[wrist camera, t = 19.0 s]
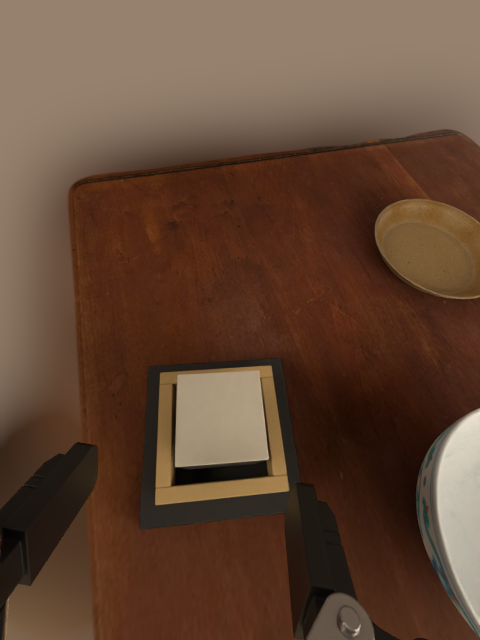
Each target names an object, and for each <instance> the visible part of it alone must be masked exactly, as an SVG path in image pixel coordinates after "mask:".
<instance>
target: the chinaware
mask: <svg viewBox="0 0 480 640" xmlns="http://www.w3.org/2000/svg"><path fill="white" fill-rule="evenodd" d="M416 509H417V517H418V523H419V528H420V532H421V536H422V539H423V543H424V546H425V548H426V551H427V554H428V556H429V559H430V561H431V564H432V566H433V568H434V570H435V572H436V574H437V576H438V578H439V580H440V582H441V583H442V585H443V587H444V589H445V590H446V592H447V594H448V595H449V597H450V599H451V600H452V602H453V603H454V605H455V606H456V608H457V609H458V611H459V612H460V613H461V615H462V616H463V618H464V619H465V620H466V622H467V623H468V624H469V626H470V627H471V628H472V629H473V631H474V632H475V633H476V634H477V636H478V637H479V638H480V408H479V409H476V410H474V411H472V412H470V413H468V414H467V415H465V416H463V417H462V418H460V419H458V420H457V421H456V422H454V423H453V424H452V425H450V426H449V427H448V428H447V429H446V430H445V431H443V432H442V433H441V435H440V436H439V437H438V438H437V439H436V440H435V441H434V443H433V444H432V446H431V447H430V449H429V450H428V452H427V454H426V456H425V458H424V460H423V463H422V465H421V468H420V472H419V476H418V481H417V488H416Z"/></svg>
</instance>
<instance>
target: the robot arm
mask: <svg viewBox="0 0 480 640" xmlns="http://www.w3.org/2000/svg"><path fill="white" fill-rule="evenodd" d="M97 468H98V448H97V446H96V445H91V444H86V443H80V442H77V443H76V444H74V445H73V446H72V448H71V449H70V450H69V451H68V452H67V453H66V454H65V455H63V454H58V455H56V456H54V457H53V458H51V459H50V460H48V461H46V462H45V463H44V464H43V465H42V466H41V467H40V468H39V469H38V470H37V471H36V472H35V473H34V475H33V477H31V478H30V479H29V480H28V481H27V482H26V483H25V485H24V486H22V487H21V488H20V489H19V490H18V492H17V493H16V494H15V495H14V496H13V497H12V498H11V499H10V500H9V501H8V502H7V503H6V504H5V505H4V507H2V508H1V510H0V640H6V637H7V621H8V604H9V596H10V594H11V593H12V592H13V590H14V589H15V587H16V586H17V584H23V585H28V586H31V584H32V583H33V581H34V580H35V578H36V577H37V575H38V574H39V572H40V570H41V569H42V567H43V566H44V564H45V563H46V561H47V560H48V558H49V557H50V555H51V554H52V552H53V550H54V549H55V547H56V546H57V544H58V543H59V541H60V540H61V538H62V537H63V535H64V533H65V532H66V531H67V529H68V528H69V526H70V524H71V523H72V521H73V520H74V518H75V517H76V515H77V514H78V512H79V511H80V509H81V507H82V506H83V504H84V503H85V501H86V500H87V498H88V497H89V495H90V494H91V492H92V490H93V488H94V486H95V483H96V480H97ZM338 531H339V530H338V526H337V523H336V519H335V515H334V514H333V512H332V511H331V509H330V508H329V506H328V505H327V503H326V502H321V501H317V498H316V493H315V488H314V486H313V485H312V484H306V483H300V482H294V483H293V485H292V489H291V493H290V497H289V500H288V504H287V508H286V513H285V537H286V549H287V561H288V573H289V585H290V597H291V610H292V622H293V634H294V637H295V638H301V639H304V640H399V639H397V638H396V637H394V636H392V635H390V634H389V633H387V632H385V631H384V630H382V629H381V628H379V627H378V626H377V625H376V624H374V623H373V622H372V621H371V619H370V617H369V616H368V614H367V612H366V611H365V609H364V608H363V607H362V605H361V604H360V603H359V602H358V600H357V597H356V594H355V591H354V587H353V583H352V579H351V576H350V572H349V568H348V564H347V560H346V557H345V553H344V549H343V546H342V542H341V538H340V534H339V533H338ZM414 640H427V639H423V638H417V639H414Z"/></svg>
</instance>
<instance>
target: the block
mask: <svg viewBox="0 0 480 640" xmlns="http://www.w3.org/2000/svg"><path fill="white" fill-rule="evenodd" d="M268 459H269V456H268V447H267V438H266V428H265V419H264V410H263V401H262V392H261V383H260V373H259V370H257V371H238V372H220V373H201V374H183V375H177V405H176V443H175V467H179V468H184V469H189V470H193V469H205V468H218V467H230V466H242V465H253V464H256V463H259V462H262V461H265V460H268Z"/></svg>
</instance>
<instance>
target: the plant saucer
mask: <svg viewBox="0 0 480 640" xmlns="http://www.w3.org/2000/svg"><path fill="white" fill-rule="evenodd" d="M375 239H376V244H377V247H378V250H379V252H380V255H381V256H382V258H383V260H384V262H385V263H386V265H387V266H388V267H389V269H390V270H391V271H392V272H393V273H394V274H395V275H396V276H397V277H398V278H399V279H401V280H402V281H403V282H405V283H406V284H408V285H409V286H411V287H413V288H415V289H417V290H419V291H422V292H424V293H427V294H430V295H434V296H438V297H444V298H452V299H471V298H478V297H480V223H479V222H478V221H477V220H476V219H474V218H473V217H471V216H470V215H468V214H466V213H465V212H463V211H461V210H459V209H457V208H455V207H453V206H450V205H447V204H444V203H441V202H437V201H433V200H428V199H406V200H401V201H398V202H395V203H393V204H391V205H389V206H387V207H386V208H385V209H384V210H383V211H382V212H381V213H380V214H379V216H378V218H377V220H376V223H375Z"/></svg>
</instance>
